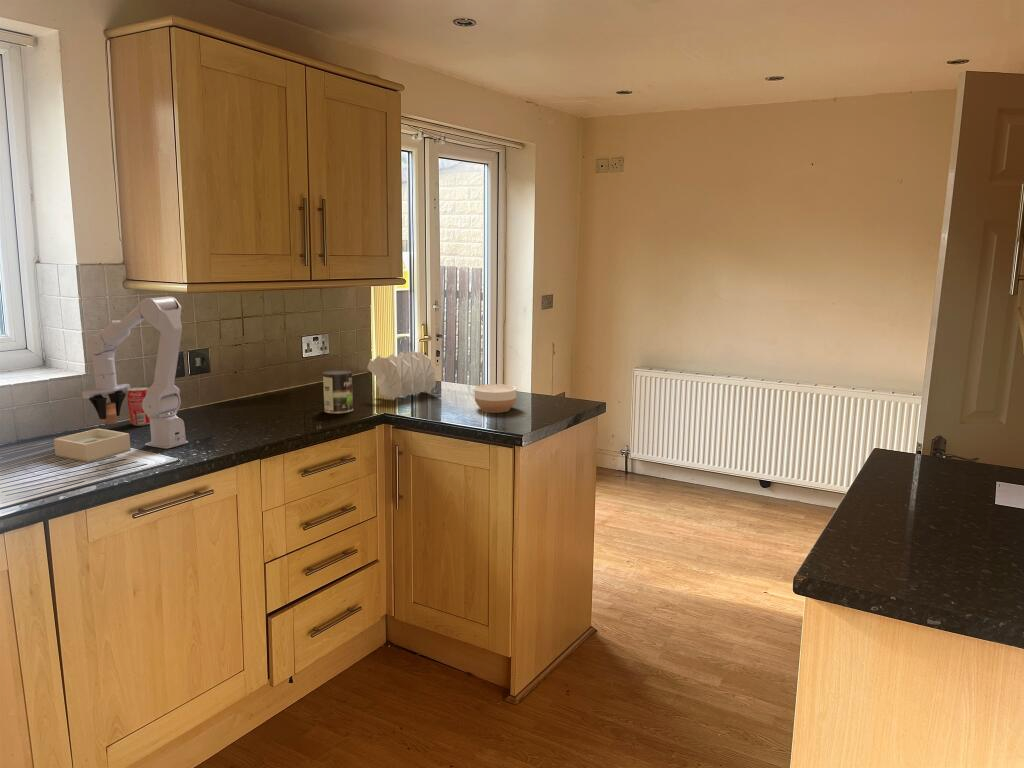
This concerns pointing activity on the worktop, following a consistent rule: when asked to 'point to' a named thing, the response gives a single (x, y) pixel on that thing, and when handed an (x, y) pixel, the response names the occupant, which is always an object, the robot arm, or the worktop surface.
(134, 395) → the soda can
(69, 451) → the bore box
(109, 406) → the peg
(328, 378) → the coffee can
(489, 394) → the bowl
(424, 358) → the white pleated paper lampshade
